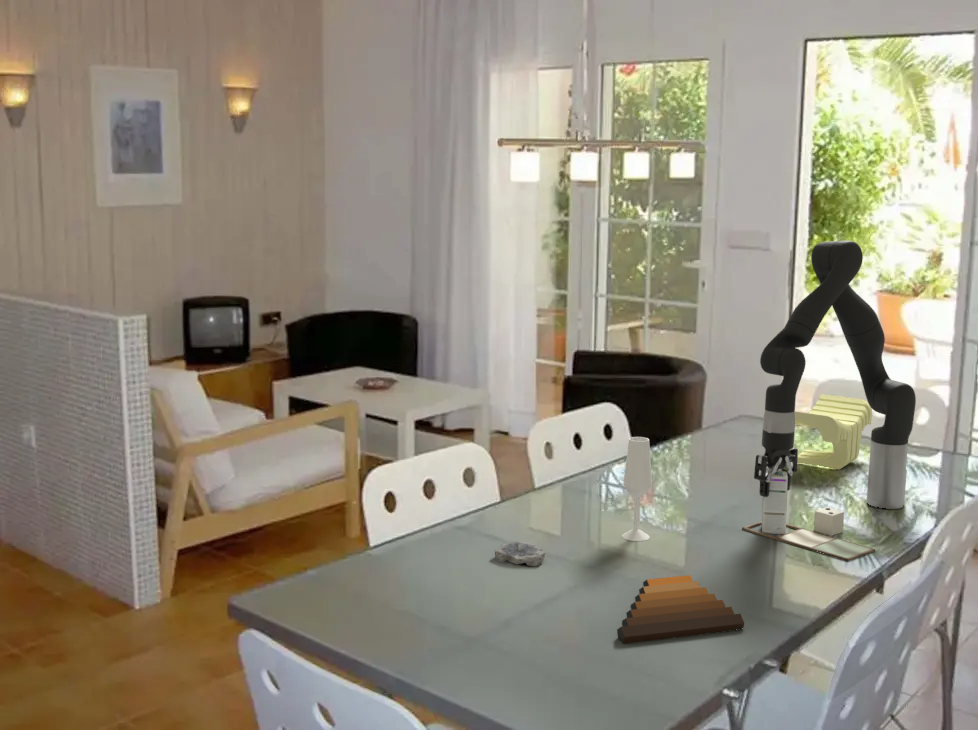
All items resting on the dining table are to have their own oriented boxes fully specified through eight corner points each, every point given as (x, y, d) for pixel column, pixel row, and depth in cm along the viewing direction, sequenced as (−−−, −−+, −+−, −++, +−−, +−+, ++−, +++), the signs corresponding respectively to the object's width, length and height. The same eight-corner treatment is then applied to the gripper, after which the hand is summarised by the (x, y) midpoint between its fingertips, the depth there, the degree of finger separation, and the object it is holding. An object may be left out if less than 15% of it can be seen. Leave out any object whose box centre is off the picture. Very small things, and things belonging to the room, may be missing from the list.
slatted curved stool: (835, 478, 331) (839, 417, 328) (781, 469, 340) (785, 410, 337) (868, 457, 355) (872, 400, 352) (817, 449, 364) (821, 393, 361)
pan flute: (624, 647, 216) (743, 633, 223) (624, 630, 216) (744, 616, 223) (576, 598, 240) (685, 587, 247) (576, 583, 239) (686, 572, 246)
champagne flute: (653, 534, 280) (657, 437, 275) (644, 542, 274) (648, 443, 269) (626, 530, 282) (629, 434, 278) (617, 538, 276) (621, 440, 272)
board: (769, 520, 291) (769, 518, 291) (874, 551, 270) (874, 548, 269) (742, 529, 284) (742, 527, 284) (848, 561, 262) (848, 559, 262)
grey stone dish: (489, 552, 258) (503, 530, 267) (489, 567, 260) (503, 545, 268) (538, 562, 255) (551, 540, 264) (537, 578, 256) (550, 555, 265)
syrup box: (786, 534, 281) (789, 476, 278) (760, 532, 282) (764, 475, 279) (784, 527, 286) (788, 470, 284) (760, 525, 287) (763, 469, 285)
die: (825, 526, 287) (826, 506, 286) (842, 531, 284) (844, 511, 283) (813, 530, 284) (814, 510, 283) (831, 535, 280) (832, 515, 279)
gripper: (783, 421, 287) (779, 484, 290) (747, 429, 278) (744, 494, 280) (809, 427, 281) (804, 491, 284) (774, 435, 272) (769, 501, 275)
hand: (774, 493), depth 282 cm, fingers open, 8 cm apart
